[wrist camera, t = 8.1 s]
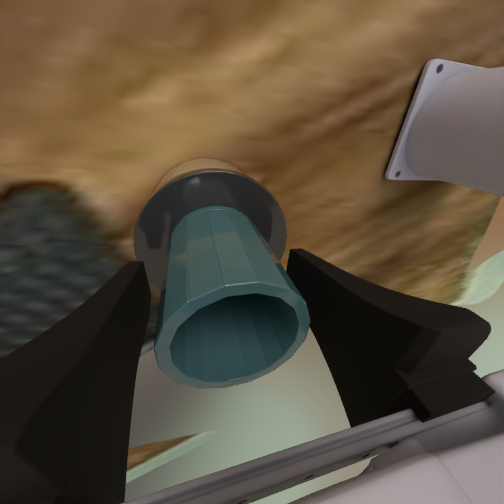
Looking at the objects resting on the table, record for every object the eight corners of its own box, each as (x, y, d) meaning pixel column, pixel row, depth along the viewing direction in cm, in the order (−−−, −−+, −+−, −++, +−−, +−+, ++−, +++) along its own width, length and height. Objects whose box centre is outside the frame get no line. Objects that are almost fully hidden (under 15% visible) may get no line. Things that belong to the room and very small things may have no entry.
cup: (263, 204, 12) (325, 273, 7) (256, 279, 15) (296, 371, 10) (161, 206, 11) (138, 295, 5) (174, 288, 14) (167, 401, 8)
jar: (268, 157, 16) (298, 171, 12) (258, 259, 20) (277, 295, 16) (134, 152, 14) (113, 168, 9) (157, 268, 18) (149, 312, 14)
